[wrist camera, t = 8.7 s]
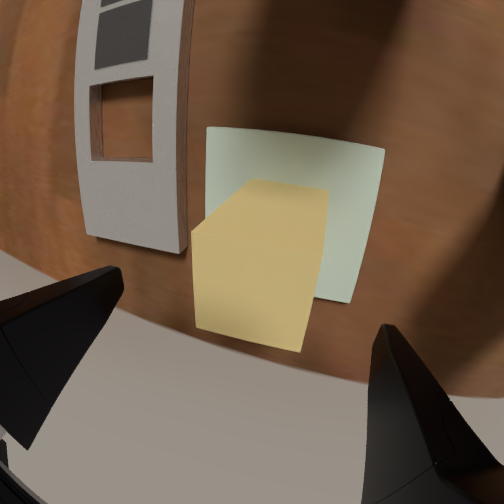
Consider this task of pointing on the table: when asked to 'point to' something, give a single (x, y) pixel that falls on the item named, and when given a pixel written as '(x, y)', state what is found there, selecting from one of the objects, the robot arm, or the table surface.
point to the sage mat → (310, 175)
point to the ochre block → (260, 263)
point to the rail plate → (163, 123)
